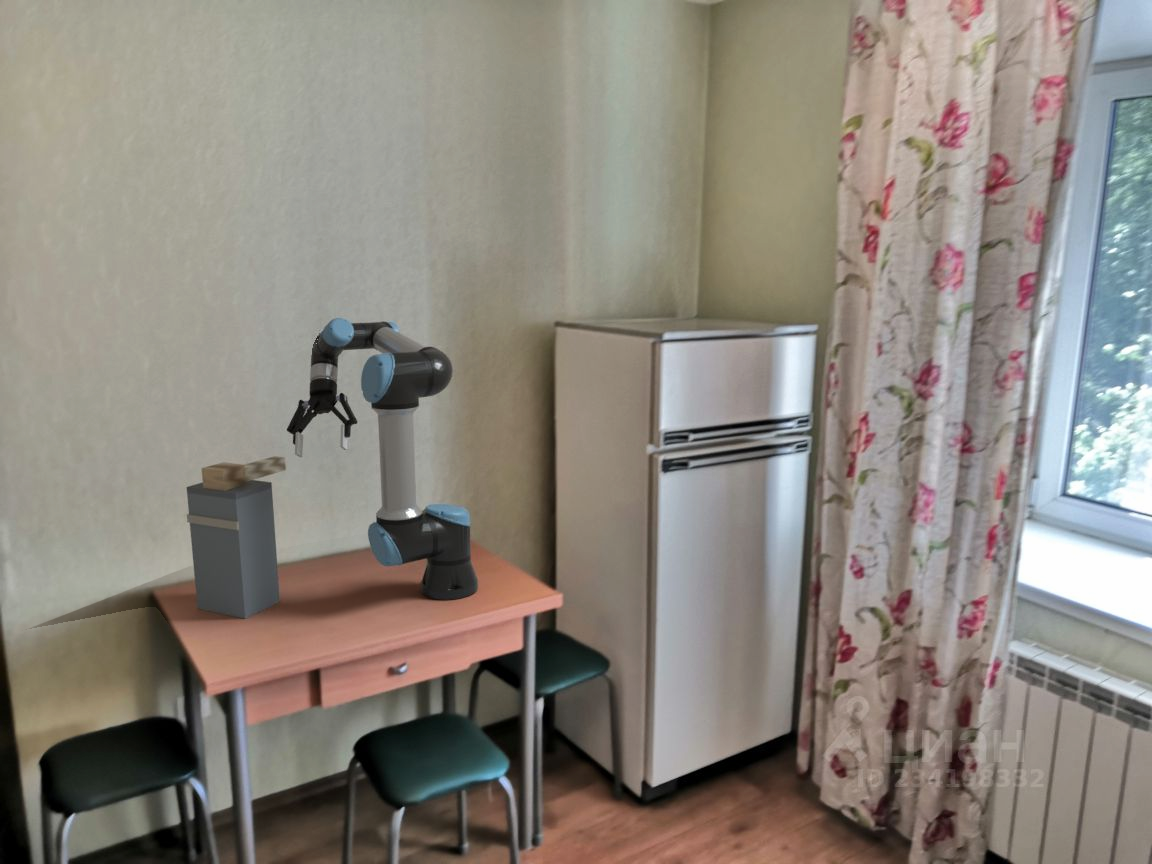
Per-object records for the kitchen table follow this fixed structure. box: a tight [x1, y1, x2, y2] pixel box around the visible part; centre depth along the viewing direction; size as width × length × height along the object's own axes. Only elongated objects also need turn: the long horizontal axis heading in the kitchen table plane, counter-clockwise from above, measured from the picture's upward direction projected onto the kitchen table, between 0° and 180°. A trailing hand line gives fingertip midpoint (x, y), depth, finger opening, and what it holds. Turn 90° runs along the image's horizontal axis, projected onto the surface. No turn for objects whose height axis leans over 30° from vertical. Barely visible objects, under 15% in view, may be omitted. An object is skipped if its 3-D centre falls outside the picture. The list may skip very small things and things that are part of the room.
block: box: [201, 455, 287, 491], centre depth 219 cm, size 23×7×5 cm, turn 156°
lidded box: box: [186, 479, 281, 620], centre depth 217 cm, size 16×12×32 cm
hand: (321, 452), depth 236 cm, fingers open, 13 cm apart
